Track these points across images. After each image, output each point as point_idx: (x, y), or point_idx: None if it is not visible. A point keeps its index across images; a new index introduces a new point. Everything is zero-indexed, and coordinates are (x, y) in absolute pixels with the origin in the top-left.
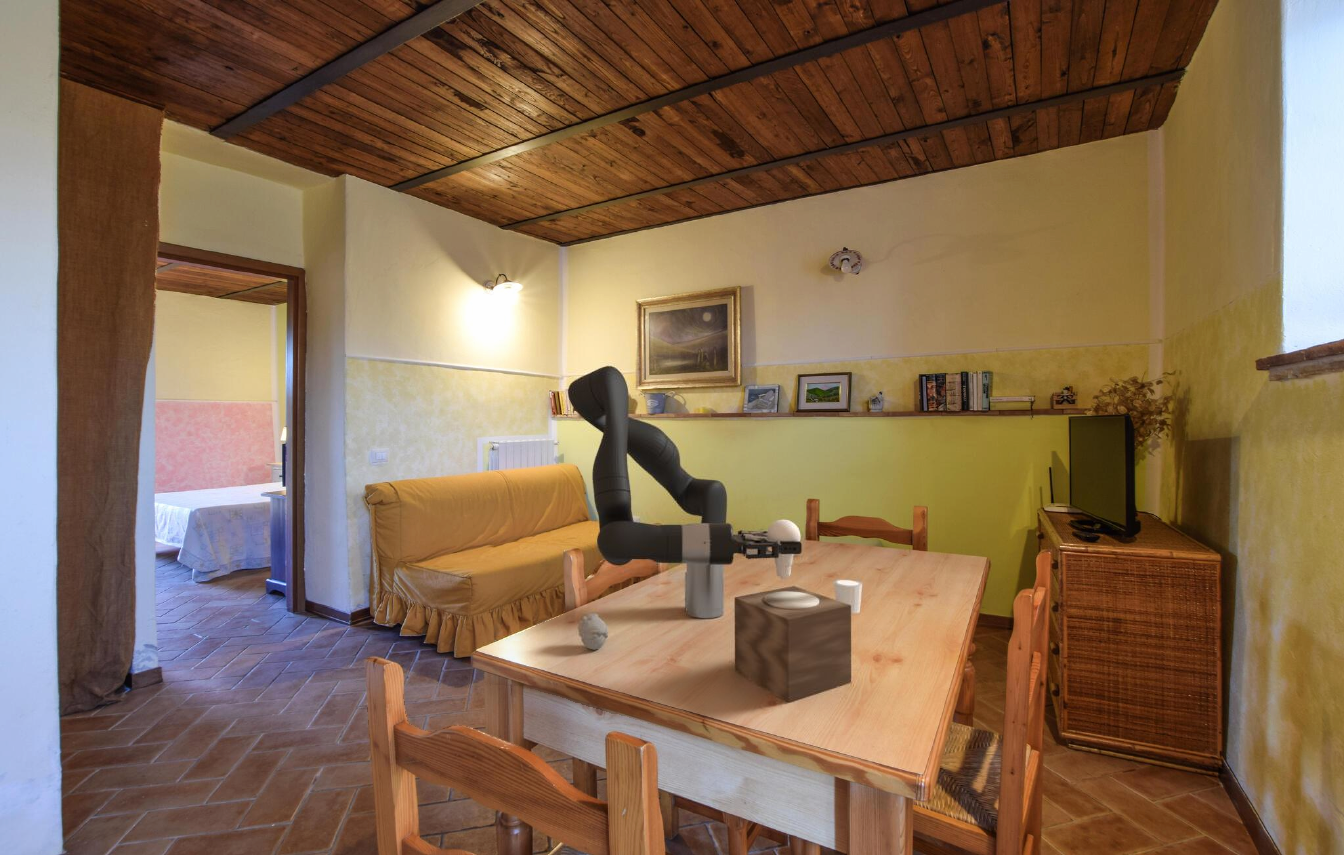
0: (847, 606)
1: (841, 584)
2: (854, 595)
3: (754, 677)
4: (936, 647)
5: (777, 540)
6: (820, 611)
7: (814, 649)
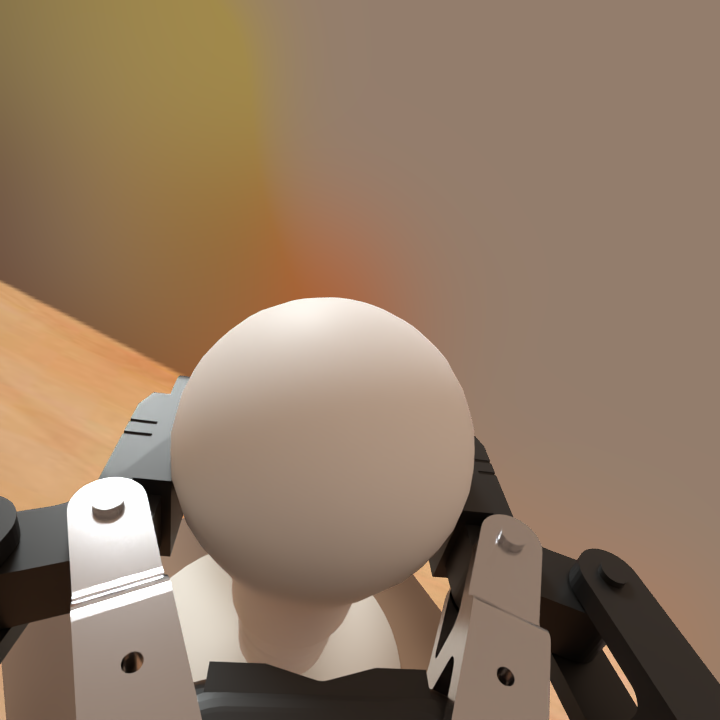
0: None
1: None
2: None
3: None
4: (149, 390)
5: (510, 531)
6: (410, 580)
7: None
